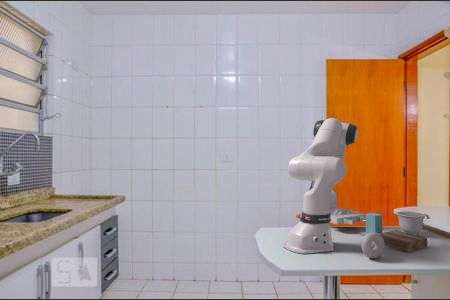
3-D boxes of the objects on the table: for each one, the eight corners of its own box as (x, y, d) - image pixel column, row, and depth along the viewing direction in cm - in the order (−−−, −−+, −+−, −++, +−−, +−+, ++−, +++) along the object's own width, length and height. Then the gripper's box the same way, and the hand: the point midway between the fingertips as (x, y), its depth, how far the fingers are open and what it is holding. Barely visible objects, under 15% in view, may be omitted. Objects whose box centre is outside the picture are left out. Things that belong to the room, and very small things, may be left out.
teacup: (437, 237, 138) (437, 216, 139) (405, 237, 139) (405, 216, 139) (421, 230, 151) (421, 211, 151) (391, 230, 151) (391, 211, 151)
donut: (379, 255, 116) (379, 229, 116) (386, 258, 113) (386, 231, 113) (359, 258, 113) (359, 232, 113) (366, 261, 110) (366, 234, 110)
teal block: (375, 239, 136) (375, 215, 136) (366, 236, 141) (365, 213, 141) (382, 238, 139) (382, 214, 139) (373, 235, 143) (372, 212, 143)
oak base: (406, 252, 119) (406, 242, 119) (375, 243, 131) (375, 234, 131) (427, 247, 125) (427, 238, 125) (395, 238, 137) (395, 230, 137)
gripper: (323, 212, 155) (344, 217, 142) (351, 208, 164) (373, 213, 151) (323, 224, 155) (344, 230, 142) (351, 220, 164) (373, 225, 151)
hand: (359, 221), depth 147 cm, fingers open, 8 cm apart
